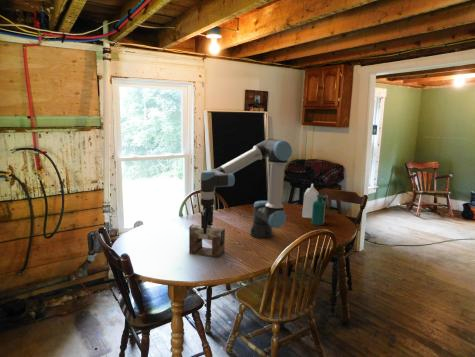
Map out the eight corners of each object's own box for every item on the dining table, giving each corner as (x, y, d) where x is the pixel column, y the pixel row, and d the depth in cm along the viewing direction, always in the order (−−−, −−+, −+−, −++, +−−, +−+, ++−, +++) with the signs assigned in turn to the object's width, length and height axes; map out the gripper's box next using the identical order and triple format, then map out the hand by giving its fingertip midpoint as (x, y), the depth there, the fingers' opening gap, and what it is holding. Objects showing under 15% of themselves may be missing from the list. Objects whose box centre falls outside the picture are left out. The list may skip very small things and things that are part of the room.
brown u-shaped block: (224, 251, 195) (224, 233, 193) (218, 258, 186) (218, 239, 184) (196, 247, 200) (196, 229, 198) (189, 253, 191) (189, 235, 189)
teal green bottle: (311, 224, 247) (313, 195, 243) (313, 221, 255) (315, 193, 251) (324, 226, 244) (326, 197, 239) (326, 223, 251) (328, 194, 247)
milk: (316, 218, 261) (319, 186, 256) (301, 217, 265) (304, 185, 260) (317, 214, 272) (320, 183, 267) (303, 213, 276) (305, 182, 271)
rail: (224, 239, 190) (224, 229, 189) (222, 241, 186) (222, 231, 185) (192, 234, 196) (192, 224, 195) (189, 236, 192) (189, 226, 191)
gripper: (207, 194, 196) (206, 231, 200) (195, 201, 180) (194, 241, 184) (219, 195, 193) (218, 233, 198) (207, 202, 177) (207, 243, 182)
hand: (207, 237), depth 191 cm, fingers closed on rail, 4 cm apart
